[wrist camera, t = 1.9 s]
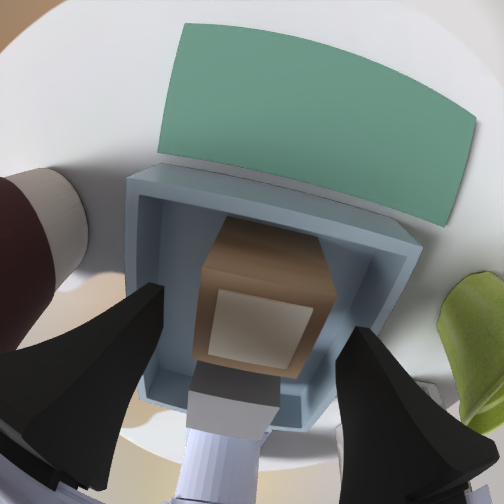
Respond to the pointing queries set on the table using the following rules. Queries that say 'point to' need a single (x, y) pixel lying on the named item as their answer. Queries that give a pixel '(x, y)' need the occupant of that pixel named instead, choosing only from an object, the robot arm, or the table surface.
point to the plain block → (232, 401)
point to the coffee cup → (36, 247)
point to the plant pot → (476, 348)
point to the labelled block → (262, 299)
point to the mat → (315, 118)
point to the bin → (273, 214)
